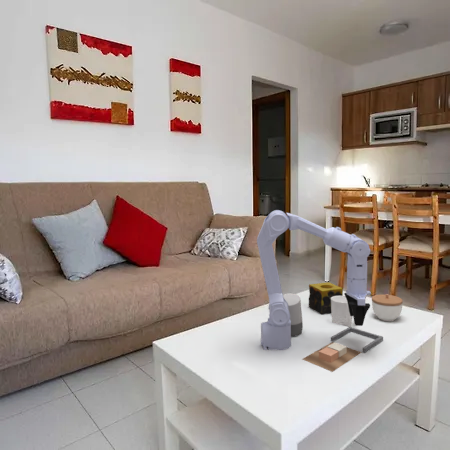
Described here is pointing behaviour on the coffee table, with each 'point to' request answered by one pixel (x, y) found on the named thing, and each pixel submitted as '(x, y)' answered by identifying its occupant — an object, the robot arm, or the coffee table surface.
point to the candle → (323, 296)
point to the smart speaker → (294, 313)
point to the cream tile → (338, 348)
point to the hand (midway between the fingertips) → (356, 320)
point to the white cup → (340, 311)
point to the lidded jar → (387, 307)
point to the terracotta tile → (328, 354)
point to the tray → (377, 338)
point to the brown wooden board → (336, 363)
